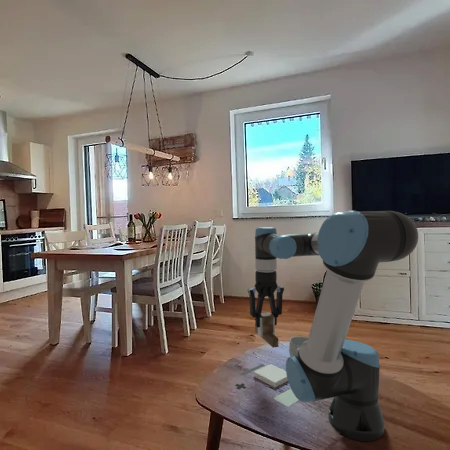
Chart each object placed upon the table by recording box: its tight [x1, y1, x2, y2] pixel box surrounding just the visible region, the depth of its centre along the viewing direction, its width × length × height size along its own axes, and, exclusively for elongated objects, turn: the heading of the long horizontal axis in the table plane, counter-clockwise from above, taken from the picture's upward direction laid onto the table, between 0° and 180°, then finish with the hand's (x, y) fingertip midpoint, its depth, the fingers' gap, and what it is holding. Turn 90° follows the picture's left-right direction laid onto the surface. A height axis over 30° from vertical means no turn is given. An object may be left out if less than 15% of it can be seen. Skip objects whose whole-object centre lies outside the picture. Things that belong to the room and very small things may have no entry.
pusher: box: [254, 311, 279, 349], centre depth 126 cm, size 4×16×9 cm, turn 17°
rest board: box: [273, 388, 300, 408], centre depth 116 cm, size 6×19×1 cm, turn 131°
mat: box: [242, 363, 266, 375], centre depth 126 cm, size 17×11×1 cm, turn 41°
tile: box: [253, 363, 288, 388], centre depth 125 cm, size 2×9×10 cm
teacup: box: [288, 335, 308, 357], centre depth 139 cm, size 14×11×8 cm
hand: (266, 334), depth 126 cm, fingers closed on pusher, 4 cm apart
